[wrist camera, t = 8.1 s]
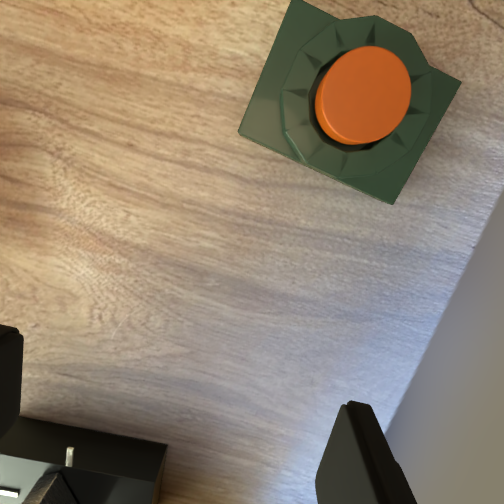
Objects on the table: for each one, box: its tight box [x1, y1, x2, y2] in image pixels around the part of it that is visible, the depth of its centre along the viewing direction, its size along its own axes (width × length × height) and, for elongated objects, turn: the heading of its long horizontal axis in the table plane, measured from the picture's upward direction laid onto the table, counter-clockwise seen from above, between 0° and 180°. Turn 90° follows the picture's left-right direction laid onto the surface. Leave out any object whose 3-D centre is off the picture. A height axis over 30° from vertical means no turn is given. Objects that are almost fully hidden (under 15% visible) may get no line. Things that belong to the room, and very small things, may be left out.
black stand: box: [0, 417, 168, 504], centre depth 24 cm, size 11×9×3 cm
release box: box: [238, 0, 462, 205], centre depth 16 cm, size 9×6×4 cm
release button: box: [315, 46, 411, 145], centre depth 14 cm, size 4×4×2 cm
